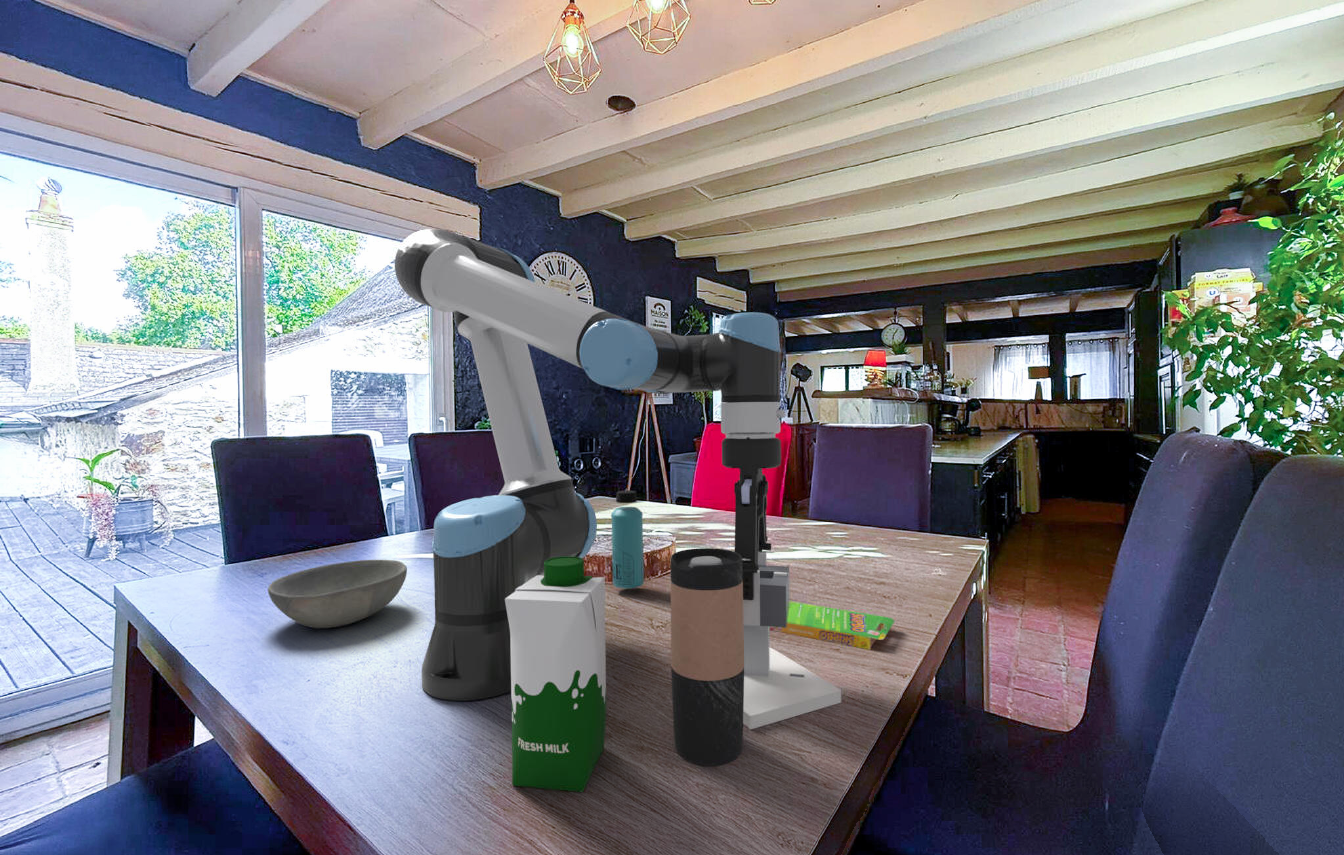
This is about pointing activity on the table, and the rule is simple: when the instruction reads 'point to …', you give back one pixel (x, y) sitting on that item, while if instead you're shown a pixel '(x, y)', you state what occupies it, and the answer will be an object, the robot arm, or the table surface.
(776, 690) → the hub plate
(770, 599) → the gray slotted box
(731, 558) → the travel mug
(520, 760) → the milk carton
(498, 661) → the robot arm
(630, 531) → the beverage bottle
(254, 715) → the table surface
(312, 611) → the bowl
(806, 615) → the game box
